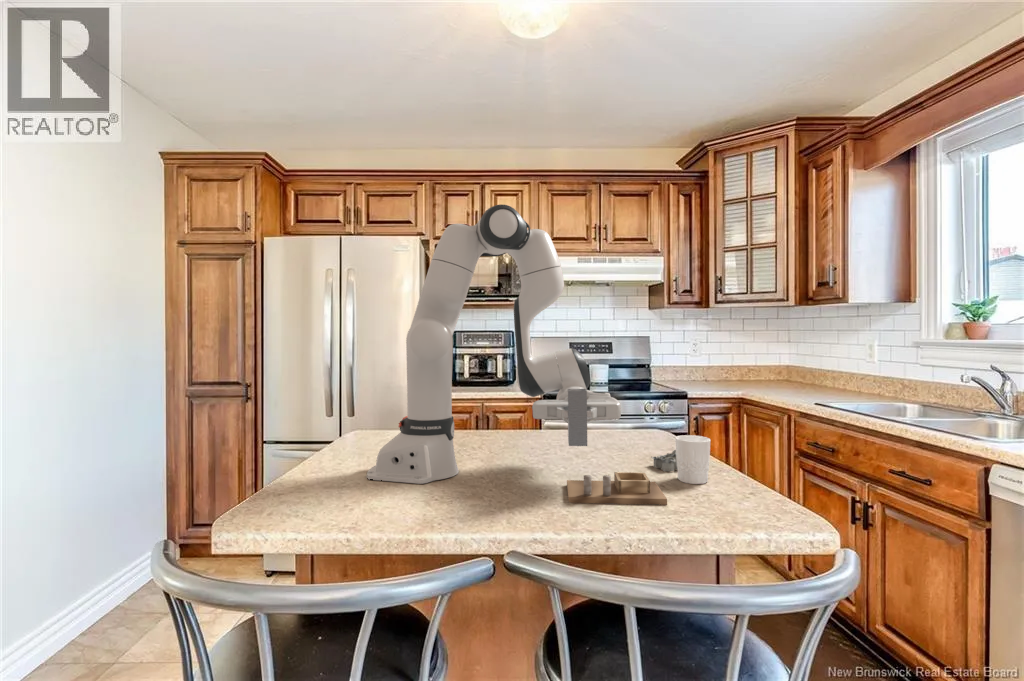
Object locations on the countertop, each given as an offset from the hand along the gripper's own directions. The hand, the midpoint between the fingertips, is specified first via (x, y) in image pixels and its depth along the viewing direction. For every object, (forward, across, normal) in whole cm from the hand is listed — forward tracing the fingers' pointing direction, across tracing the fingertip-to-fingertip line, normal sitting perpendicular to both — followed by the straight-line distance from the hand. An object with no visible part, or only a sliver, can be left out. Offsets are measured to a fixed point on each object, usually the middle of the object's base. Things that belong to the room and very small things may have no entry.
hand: (577, 415), depth 111 cm
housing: (0, +8, +17) cm, 19 cm away
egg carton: (-23, +26, +18) cm, 39 cm away
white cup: (-12, +28, +18) cm, 35 cm away
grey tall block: (-1, 0, +6) cm, 7 cm away
